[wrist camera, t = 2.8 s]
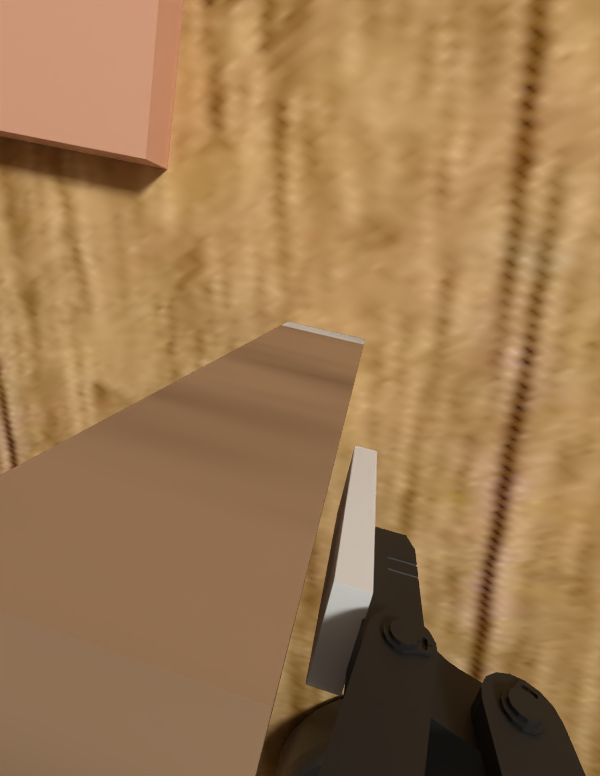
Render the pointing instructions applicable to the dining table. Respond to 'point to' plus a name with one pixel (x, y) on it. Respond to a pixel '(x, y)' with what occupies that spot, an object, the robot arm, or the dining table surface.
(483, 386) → the dining table surface
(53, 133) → the terracotta tile
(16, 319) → the dining table surface
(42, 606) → the walnut block
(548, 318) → the dining table surface
